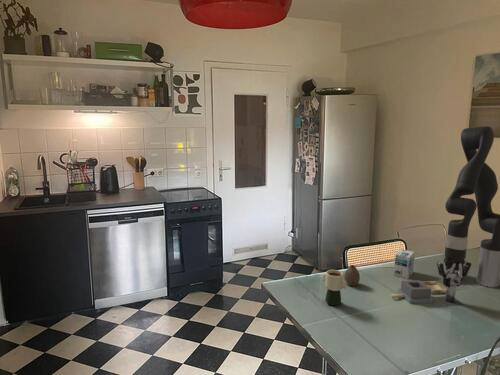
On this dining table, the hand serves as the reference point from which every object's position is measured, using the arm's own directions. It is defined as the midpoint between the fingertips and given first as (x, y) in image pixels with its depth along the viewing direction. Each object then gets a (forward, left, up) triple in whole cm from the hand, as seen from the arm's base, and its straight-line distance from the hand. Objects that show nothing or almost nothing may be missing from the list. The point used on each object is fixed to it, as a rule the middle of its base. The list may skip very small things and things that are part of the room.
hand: (451, 285), depth 152 cm
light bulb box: (+5, -29, -7) cm, 30 cm away
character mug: (+49, -2, -7) cm, 50 cm away
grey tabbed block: (0, 0, -7) cm, 7 cm away
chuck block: (+15, -4, -7) cm, 18 cm away
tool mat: (0, 0, -7) cm, 7 cm away
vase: (+35, -19, -7) cm, 41 cm away
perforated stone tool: (-17, -22, -8) cm, 29 cm away
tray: (0, -12, -7) cm, 14 cm away
